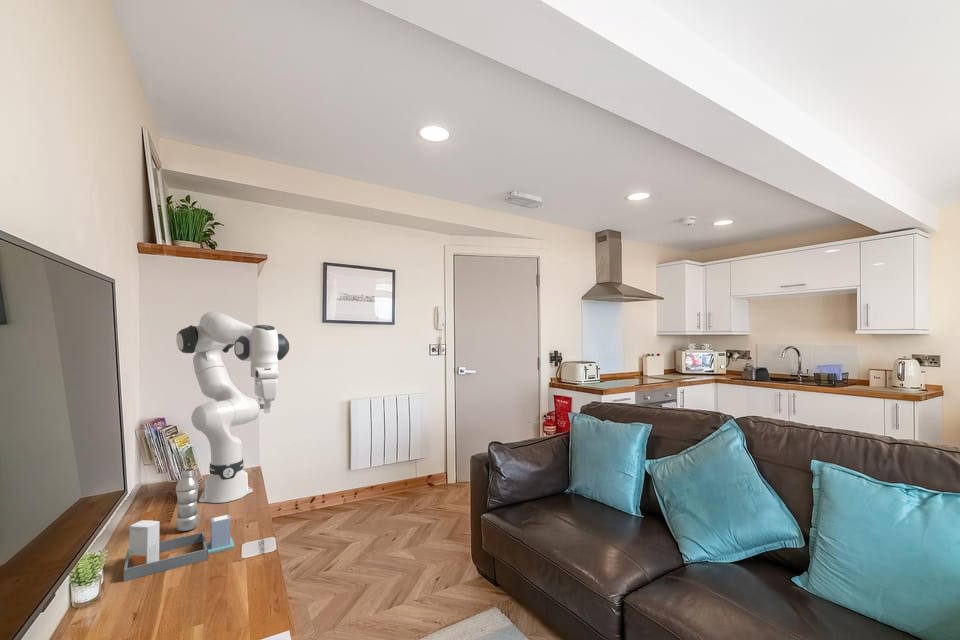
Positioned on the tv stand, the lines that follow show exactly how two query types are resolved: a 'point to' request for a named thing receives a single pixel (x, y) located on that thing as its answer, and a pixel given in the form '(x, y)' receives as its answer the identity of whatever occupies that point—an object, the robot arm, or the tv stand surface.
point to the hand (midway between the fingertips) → (264, 410)
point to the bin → (169, 562)
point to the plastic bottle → (187, 501)
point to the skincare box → (144, 542)
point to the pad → (219, 547)
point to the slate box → (220, 531)
